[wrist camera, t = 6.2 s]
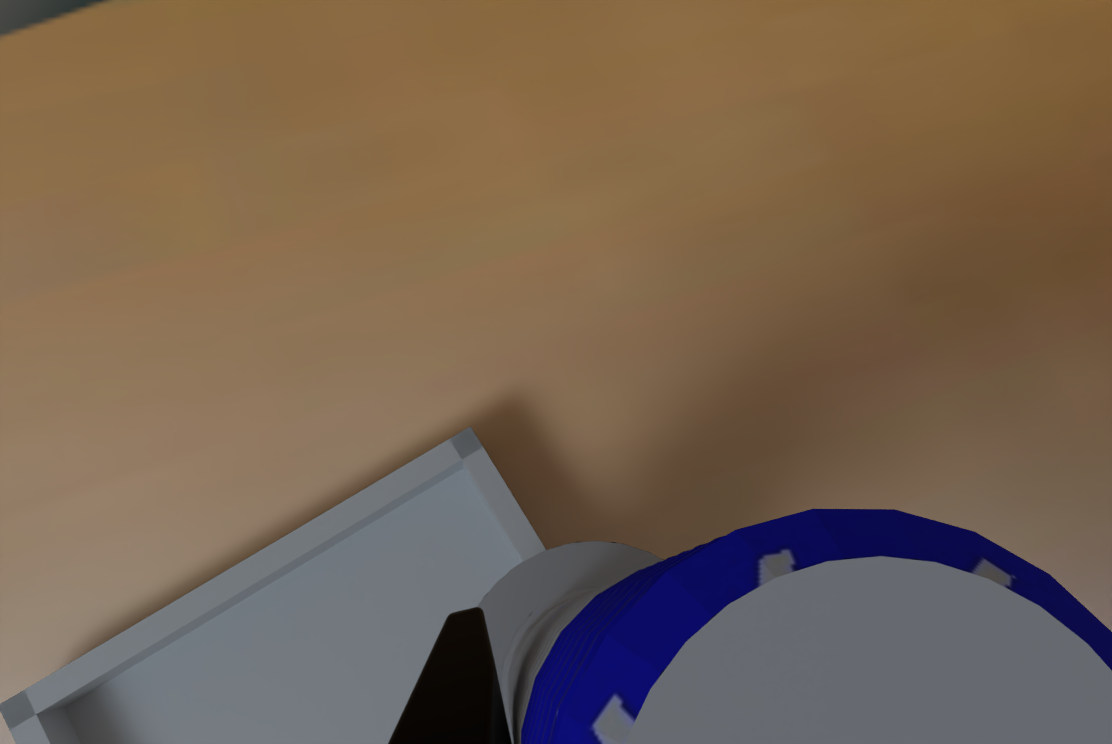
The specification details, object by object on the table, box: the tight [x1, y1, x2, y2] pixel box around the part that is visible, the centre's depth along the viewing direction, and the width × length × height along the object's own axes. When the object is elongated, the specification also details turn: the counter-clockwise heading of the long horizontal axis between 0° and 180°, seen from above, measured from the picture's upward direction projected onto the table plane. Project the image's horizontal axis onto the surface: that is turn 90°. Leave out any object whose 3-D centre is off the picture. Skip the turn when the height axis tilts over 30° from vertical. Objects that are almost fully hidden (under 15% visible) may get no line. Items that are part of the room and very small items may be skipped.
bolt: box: [477, 509, 1112, 744], centre depth 11 cm, size 16×5×5 cm
